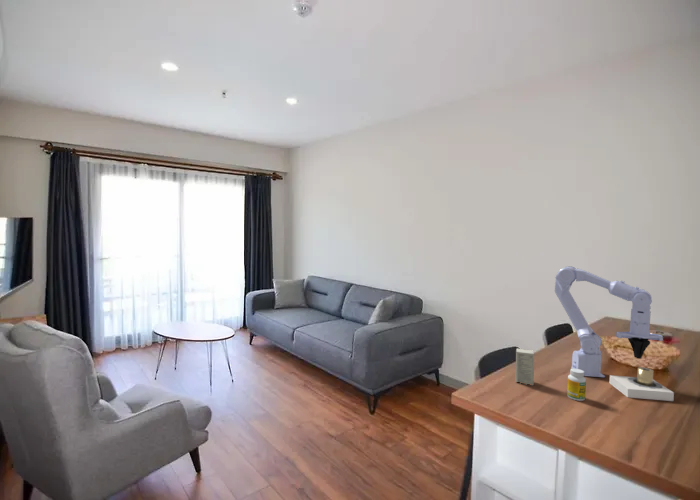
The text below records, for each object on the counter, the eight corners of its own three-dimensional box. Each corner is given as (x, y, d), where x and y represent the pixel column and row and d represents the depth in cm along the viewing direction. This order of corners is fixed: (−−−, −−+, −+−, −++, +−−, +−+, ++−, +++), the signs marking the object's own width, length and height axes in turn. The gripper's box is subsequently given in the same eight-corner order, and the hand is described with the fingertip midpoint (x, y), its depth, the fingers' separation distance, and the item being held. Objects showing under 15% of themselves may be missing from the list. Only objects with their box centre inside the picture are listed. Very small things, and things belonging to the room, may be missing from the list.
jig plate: (627, 397, 126) (628, 388, 126) (609, 383, 138) (609, 375, 138) (673, 401, 124) (673, 392, 124) (650, 386, 136) (651, 378, 136)
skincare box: (533, 381, 139) (534, 350, 138) (533, 386, 135) (535, 353, 134) (515, 378, 141) (516, 347, 141) (514, 382, 137) (516, 351, 136)
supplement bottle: (571, 392, 129) (572, 366, 129) (588, 398, 125) (589, 371, 124) (563, 396, 126) (565, 369, 126) (580, 402, 122) (581, 374, 121)
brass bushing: (641, 393, 130) (642, 371, 129) (633, 387, 134) (635, 366, 134) (654, 394, 129) (656, 372, 129) (647, 389, 133) (648, 367, 133)
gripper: (624, 323, 134) (621, 359, 135) (669, 326, 131) (666, 363, 132) (614, 319, 141) (612, 353, 142) (656, 321, 138) (654, 356, 139)
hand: (637, 357), depth 137 cm, fingers closed
